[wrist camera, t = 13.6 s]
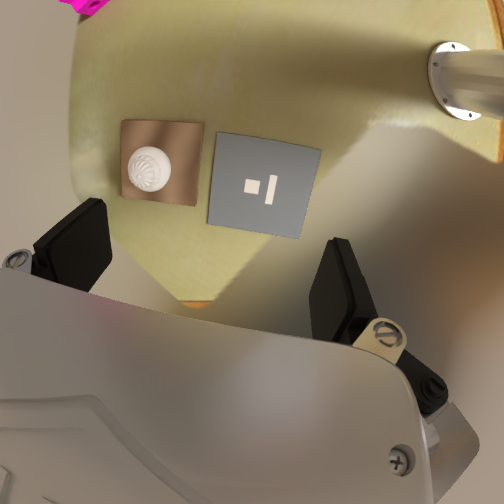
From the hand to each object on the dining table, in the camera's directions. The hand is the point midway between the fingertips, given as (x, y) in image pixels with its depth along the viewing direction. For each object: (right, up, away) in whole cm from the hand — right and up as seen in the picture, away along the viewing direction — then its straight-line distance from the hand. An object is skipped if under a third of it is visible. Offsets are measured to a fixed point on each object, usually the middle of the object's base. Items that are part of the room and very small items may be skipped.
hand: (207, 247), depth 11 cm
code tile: (+3, +9, +27) cm, 29 cm away
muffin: (-11, +12, +25) cm, 30 cm away
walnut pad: (-11, +13, +26) cm, 31 cm away
